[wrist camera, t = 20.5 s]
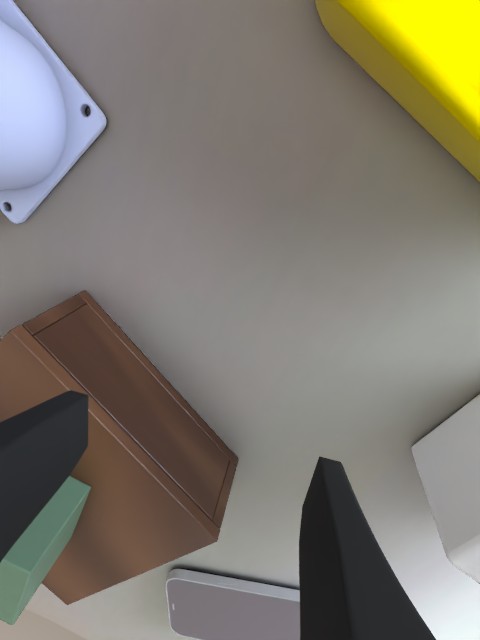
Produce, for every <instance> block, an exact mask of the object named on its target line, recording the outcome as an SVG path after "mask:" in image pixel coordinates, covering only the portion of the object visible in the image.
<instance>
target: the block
mask: <svg viewBox="0 0 480 640" xmlns="http://www.w3.org/2000/svg"><path fill="white" fill-rule="evenodd" d="M90 489H91V487H90V486H89V485H87V484H85V483H83V482H81V481H79V480H77V479H75V478H73V477H71V476H69V477H68V478H67V479H66V481H65V482H64V483H63V484H62V486H61V487H60V488H59V489H58V491H57V492H56V493H55V494H54V496H53V497H52V498H51V499H50V501H49V502H48V503H47V504H46V506H45V507H44V508H43V509H42V510H41V512H40V513H39V514H38V515H37V517H36V518H35V519H34V520H33V521H32V523H31V524H30V525H29V526H28V528H27V529H26V530H25V531H24V533H23V534H22V535H21V536H20V537H19V539H18V540H17V541H16V542H15V544H14V545H13V546H12V548H11V549H10V550H9V552H8V553H7V554H6V556H5V557H4V558H3V560H2V561H1V563H0V620H2V621H4V622H6V623H8V624H10V625H13V624H14V623H15V622H16V620H17V619H18V617H19V616H20V614H21V613H22V611H23V610H24V608H25V607H26V605H27V604H28V602H29V601H30V599H31V597H32V596H33V594H34V593H35V591H36V590H37V588H38V587H39V585H40V584H41V582H42V581H43V579H44V578H45V576H46V575H47V573H48V572H49V570H50V569H51V567H52V566H53V564H54V563H55V561H56V560H57V558H58V557H59V555H60V554H61V552H62V551H63V549H64V548H65V546H66V544H67V543H68V541H69V540H70V538H71V537H72V534H73V532H74V529H75V527H76V524H77V522H78V519H79V517H80V514H81V512H82V509H83V507H84V504H85V502H86V499H87V497H88V494H89V492H90Z"/></svg>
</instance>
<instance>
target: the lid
mask: <svg viewBox="0 0 480 640" xmlns="http://www.w3.org/2000/svg"><path fill="white" fill-rule="evenodd" d="M69 390H72V391H76V392H80V393H84V394H87V395H89V394H88V393H87V392H86V391H85V390H84V389H83V388H82V387H81V386H80V385H79V384H78V383H77V382H76V381H75V380H74V379H73V378H72V377H71V376H70V374H69V373H68V372H67V371H66V370H65V369H64V368H63V367H62V366H61V365H60V364H59V363H58V362H57V361H56V360H55V359H54V358H53V357H52V356H51V355H50V354H49V353H48V352H47V351H46V350H45V349H44V348H43V347H42V346H41V345H40V344H39V343H38V341H37V340H36V339H35V338H34V337H33V336H32V335H31V334H30V333H29V332H28V331H27V330H26V329H25V328H24V327H23V326H22V325H19V326H17V327H16V328H14V329H12V330H10V331H9V332H8V333H7V334H6V335H5V336H4V337H3V338H2V339H1V340H0V422H2V421H4V420H6V419H9V418H11V417H13V416H15V415H17V414H19V413H22V412H24V411H26V410H28V409H30V408H32V407H34V406H36V405H39V404H41V403H43V402H45V401H47V400H49V399H51V398H53V397H56V396H58V395H60V394H62V393H64V392H67V391H69ZM70 476H71V477H73V478H75V479H77V480H79V481H81V482H83V483H85V484H87V485H89V486H90V487H91V489H90V492H89V494H88V497H87V499H86V502H85V504H84V507H83V509H82V512H81V514H80V517H79V519H78V522H77V524H76V527H75V529H74V532H73V534H72V537H71V538H70V540H69V541H68V543H67V544H66V546H65V548H64V549H63V551H62V552H61V554H60V555H59V557H58V558H57V560H56V561H55V563H54V564H53V566H52V567H51V569H50V570H49V572H48V573H47V575H46V576H45V578H44V579H43V581H42V582H41V583H42V584H43V585H45V586H46V587H47V588H48V589H49V590H50V591H52V592H53V593H54V594H55V595H56V596H57V597H58V598H60V599H61V600H62V601H63V602H64V603H65V604H66V605H69V604H71V603H73V602H76V601H78V600H80V599H83V598H85V597H87V596H90V595H92V594H95V593H97V592H99V591H102V590H104V589H106V588H109V587H111V586H113V585H116V584H118V583H120V582H123V581H125V580H127V579H130V578H132V577H135V576H137V575H139V574H142V573H144V572H146V571H149V570H151V569H153V568H156V567H158V566H160V565H163V564H165V563H168V562H170V561H172V560H175V559H177V558H179V557H182V556H184V555H186V554H189V553H191V552H193V551H196V550H198V549H201V548H203V547H205V546H208V545H210V544H212V543H215V542H217V540H218V536H219V533H220V529H219V528H218V527H217V526H216V525H215V524H214V523H213V522H212V521H211V520H210V519H209V518H208V517H207V516H206V515H205V514H204V513H203V512H202V511H201V510H200V509H199V508H198V506H197V505H196V504H195V503H194V502H193V501H192V500H191V499H190V498H189V497H188V496H187V495H186V494H185V493H184V492H183V491H182V490H181V489H180V488H179V487H178V486H177V485H176V484H175V483H174V482H173V481H172V480H171V479H170V478H169V477H168V476H167V475H166V473H165V472H164V471H163V470H162V469H161V468H160V467H159V466H158V465H157V464H156V463H155V462H154V461H153V460H152V459H151V458H150V457H149V456H148V455H147V454H146V453H145V452H144V451H143V450H142V449H141V448H140V447H139V446H138V445H137V444H136V443H135V442H134V440H133V439H132V438H131V437H130V436H129V435H128V434H127V433H126V432H125V431H124V430H123V429H122V428H121V427H120V426H119V425H118V424H117V423H116V422H115V421H114V420H113V419H112V418H111V417H110V416H109V415H108V414H107V413H106V412H105V411H104V410H103V409H102V407H101V406H100V405H99V404H98V403H97V402H96V401H95V400H94V399H93V398H92V397H91V396H90V395H89V402H88V447H87V448H86V450H85V452H84V453H83V455H82V457H81V458H80V460H79V462H78V463H77V465H76V466H75V468H74V469H73V471H72V472H71V474H70Z"/></svg>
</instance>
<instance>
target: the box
mask: <svg viewBox="0 0 480 640" xmlns="http://www.w3.org/2000/svg"><path fill="white" fill-rule="evenodd" d="M22 326H23V327H24V328H25V329H26V330H27V331H28V332H29V333H30V334H31V335H32V336H33V337H34V338H35V339H36V340H37V341H38V343H39V344H40V345H41V346H42V347H43V348H44V349H45V350H46V351H47V352H48V353H49V354H50V355H51V356H52V357H53V358H54V359H55V360H56V361H57V362H58V363H59V364H60V365H61V366H62V367H63V368H64V369H65V370H66V371H67V372H68V373H69V374H70V376H71V377H72V378H73V379H74V380H75V381H76V382H77V383H78V384H79V385H80V386H81V387H82V388H83V389H84V390H85V391H86V392H87V393H88V394H89V395H90V396H91V397H92V398H93V399H94V400H95V401H96V402H97V403H98V404H99V405H100V406H101V407H102V409H103V410H104V411H105V412H106V413H107V414H108V415H109V416H110V417H111V418H112V419H113V420H114V421H115V422H116V423H117V424H118V425H119V426H120V427H121V428H122V429H123V430H124V431H125V432H126V433H127V434H128V435H129V436H130V437H131V438H132V439H133V440H134V442H135V443H136V444H137V445H138V446H139V447H140V448H141V449H142V450H143V451H144V452H145V453H146V454H147V455H148V456H149V457H150V458H151V459H152V460H153V461H154V462H155V463H156V464H157V465H158V466H159V467H160V468H161V469H162V470H163V471H164V472H165V473H166V475H167V476H168V477H169V478H170V479H171V480H172V481H173V482H174V483H175V484H176V485H177V486H178V487H179V488H180V489H181V490H182V491H183V492H184V493H185V494H186V495H187V496H188V497H189V498H190V499H191V500H192V501H193V502H194V503H195V504H196V505H197V506H198V508H199V509H200V510H201V511H202V512H203V513H204V514H205V515H206V516H207V517H208V518H209V519H210V520H211V521H212V522H213V523H214V524H215V525H216V526H217V527H218V528H219V529H220V528H221V524H222V520H223V517H224V513H225V509H226V505H227V501H228V498H229V494H230V490H231V486H232V482H233V479H234V475H235V471H236V467H237V464H238V458H237V457H236V456H235V455H234V454H233V453H232V452H231V451H230V449H229V448H228V447H227V446H226V445H225V444H224V443H223V442H222V441H221V440H220V438H219V437H218V436H217V435H216V434H215V433H214V432H213V431H212V430H211V429H210V427H209V426H208V425H207V424H206V423H205V422H204V421H203V420H202V419H201V418H200V416H199V415H198V414H197V413H196V412H195V411H194V410H193V409H192V408H191V407H190V405H189V404H188V403H187V402H186V401H185V400H184V399H183V398H182V397H181V395H180V394H179V393H178V392H177V391H176V390H175V389H174V388H173V387H172V386H171V384H170V383H169V382H168V381H167V380H166V379H165V378H164V377H163V376H162V375H161V373H160V372H159V371H158V370H157V369H156V368H155V367H154V366H153V365H152V364H151V362H150V361H149V360H148V359H147V358H146V357H145V356H144V355H143V354H142V353H141V351H140V350H139V349H138V348H137V347H136V346H135V345H134V344H133V343H132V342H131V340H130V339H129V338H128V337H127V336H126V335H125V334H124V333H123V332H122V331H121V329H120V328H119V327H118V326H117V325H116V324H115V323H114V322H113V321H112V320H111V318H110V317H109V316H108V315H107V314H106V313H105V312H104V311H103V310H102V308H101V307H100V306H99V305H98V304H97V303H96V302H95V301H94V300H93V299H92V297H91V296H90V295H89V294H88V293H87V292H86V291H83V292H81V293H79V294H78V295H75V296H74V297H72V298H70V299H68V300H66V301H64V302H62V303H61V304H59V305H57V306H55V307H53V308H51V309H49V310H48V311H46V312H44V313H42V314H40V315H38V316H36V317H35V318H33V319H31V320H29V321H27V322H25V323H23V324H22Z"/></svg>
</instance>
